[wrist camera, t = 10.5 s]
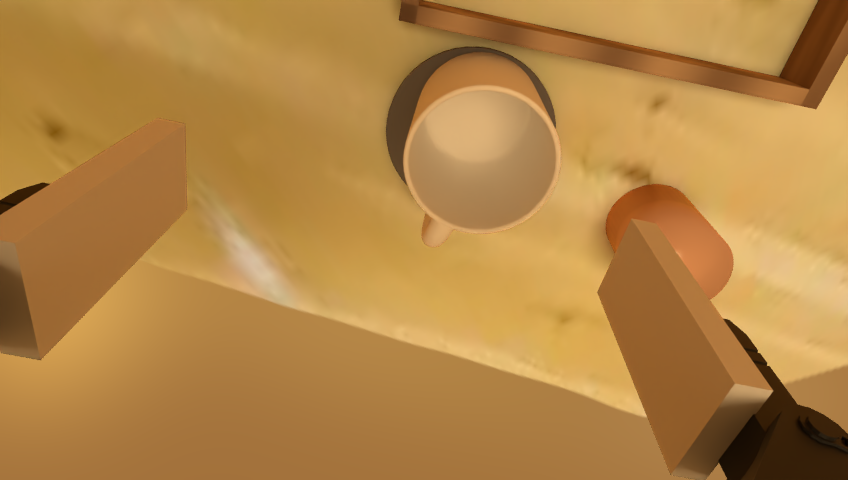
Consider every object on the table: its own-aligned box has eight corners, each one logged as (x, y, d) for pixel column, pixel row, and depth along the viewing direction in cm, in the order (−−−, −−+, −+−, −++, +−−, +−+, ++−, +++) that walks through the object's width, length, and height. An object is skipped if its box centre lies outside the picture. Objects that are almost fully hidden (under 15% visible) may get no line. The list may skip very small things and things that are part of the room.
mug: (478, 225, 41) (482, 303, 32) (380, 181, 40) (355, 250, 31) (561, 82, 35) (593, 129, 26) (449, 27, 34) (443, 56, 25)
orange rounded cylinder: (593, 249, 42) (615, 301, 36) (623, 176, 39) (653, 219, 33) (671, 265, 42) (706, 319, 36) (707, 193, 39) (752, 239, 33)
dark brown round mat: (376, 192, 41) (375, 195, 40) (402, 29, 35) (401, 30, 34) (527, 222, 41) (528, 226, 41) (577, 67, 35) (579, 68, 35)
